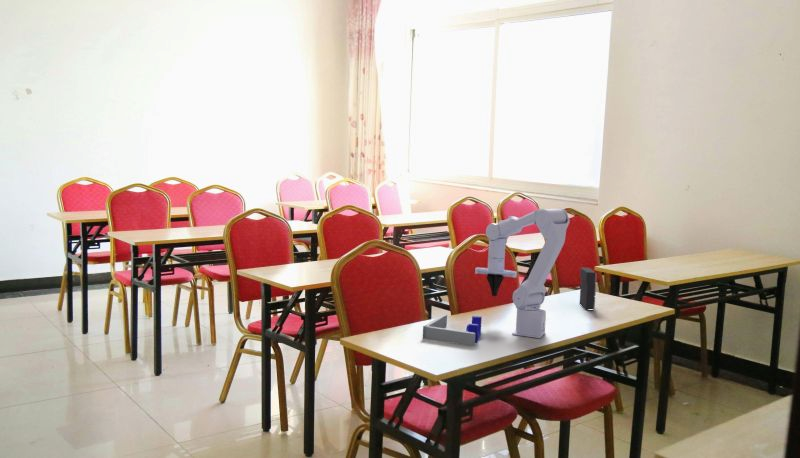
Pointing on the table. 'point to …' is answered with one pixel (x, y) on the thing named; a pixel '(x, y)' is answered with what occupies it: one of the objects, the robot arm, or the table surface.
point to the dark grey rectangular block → (587, 288)
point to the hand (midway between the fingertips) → (494, 295)
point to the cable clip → (475, 327)
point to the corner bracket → (447, 333)
